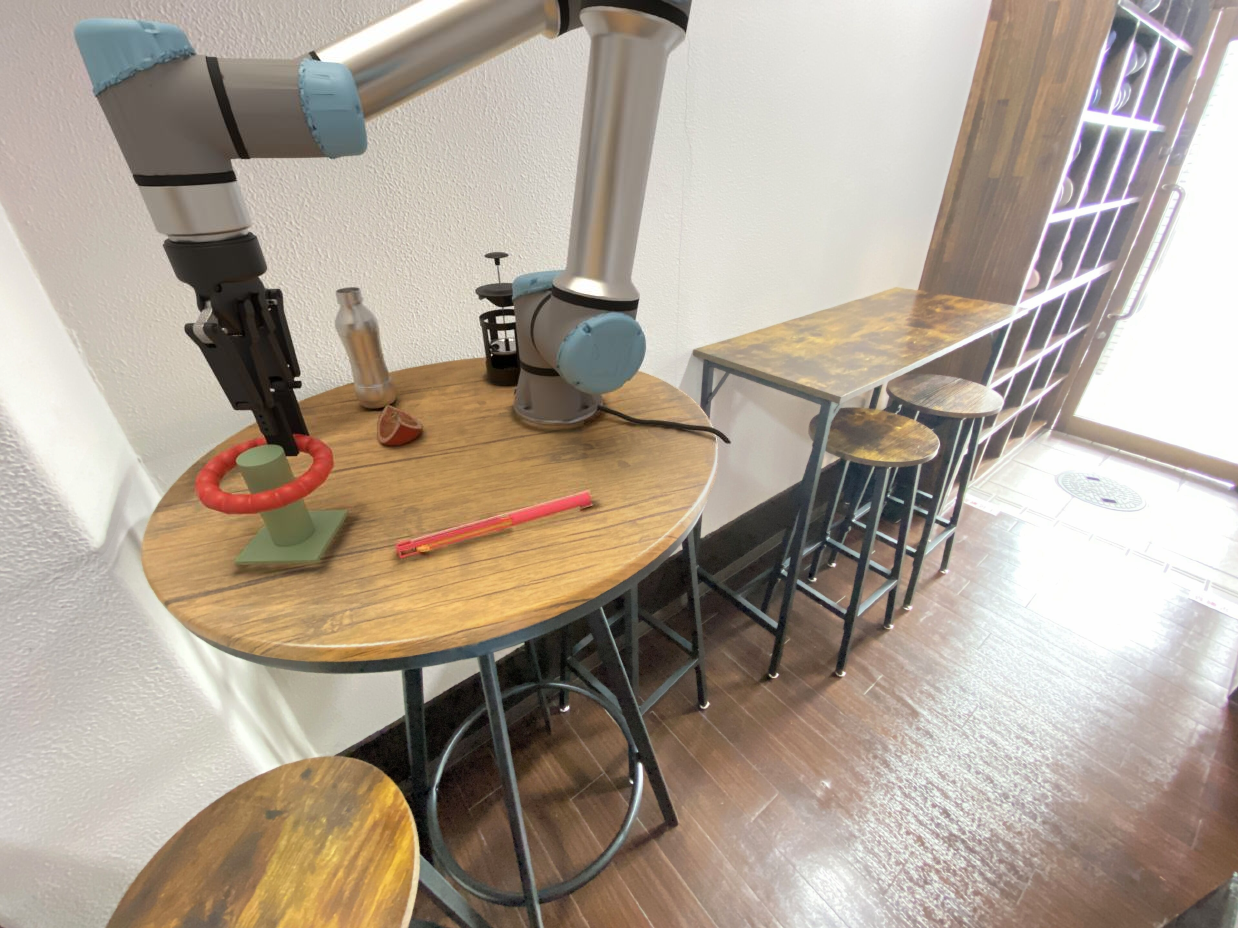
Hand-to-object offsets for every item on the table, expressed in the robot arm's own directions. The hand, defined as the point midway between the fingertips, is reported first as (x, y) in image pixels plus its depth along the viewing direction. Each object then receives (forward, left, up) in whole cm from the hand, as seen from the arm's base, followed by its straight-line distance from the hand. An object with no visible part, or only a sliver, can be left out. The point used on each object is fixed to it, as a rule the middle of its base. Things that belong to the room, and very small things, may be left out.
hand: (292, 447), depth 63 cm
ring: (0, +5, 0) cm, 5 cm away
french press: (-19, -44, -10) cm, 49 cm away
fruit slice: (-5, -19, -10) cm, 22 cm away
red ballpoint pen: (-24, +3, -10) cm, 26 cm away
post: (0, +5, -10) cm, 11 cm away
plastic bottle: (+3, -32, -10) cm, 33 cm away
